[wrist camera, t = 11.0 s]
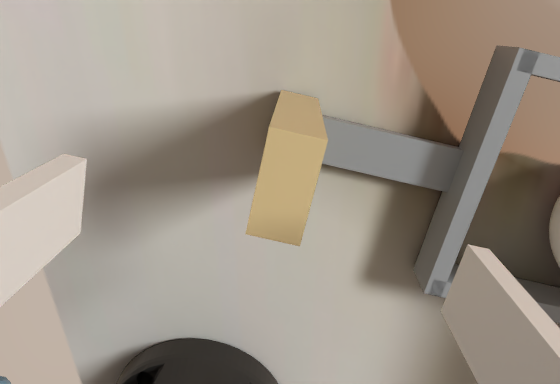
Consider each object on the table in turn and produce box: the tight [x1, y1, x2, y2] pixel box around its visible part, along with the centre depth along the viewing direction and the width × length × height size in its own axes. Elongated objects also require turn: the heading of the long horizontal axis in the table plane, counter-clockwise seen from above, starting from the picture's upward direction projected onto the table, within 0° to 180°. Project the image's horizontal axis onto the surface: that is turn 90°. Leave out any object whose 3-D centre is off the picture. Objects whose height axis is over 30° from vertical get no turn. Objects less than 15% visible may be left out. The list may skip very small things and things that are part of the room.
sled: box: [246, 46, 560, 323], centre depth 26 cm, size 16×30×12 cm, turn 77°
